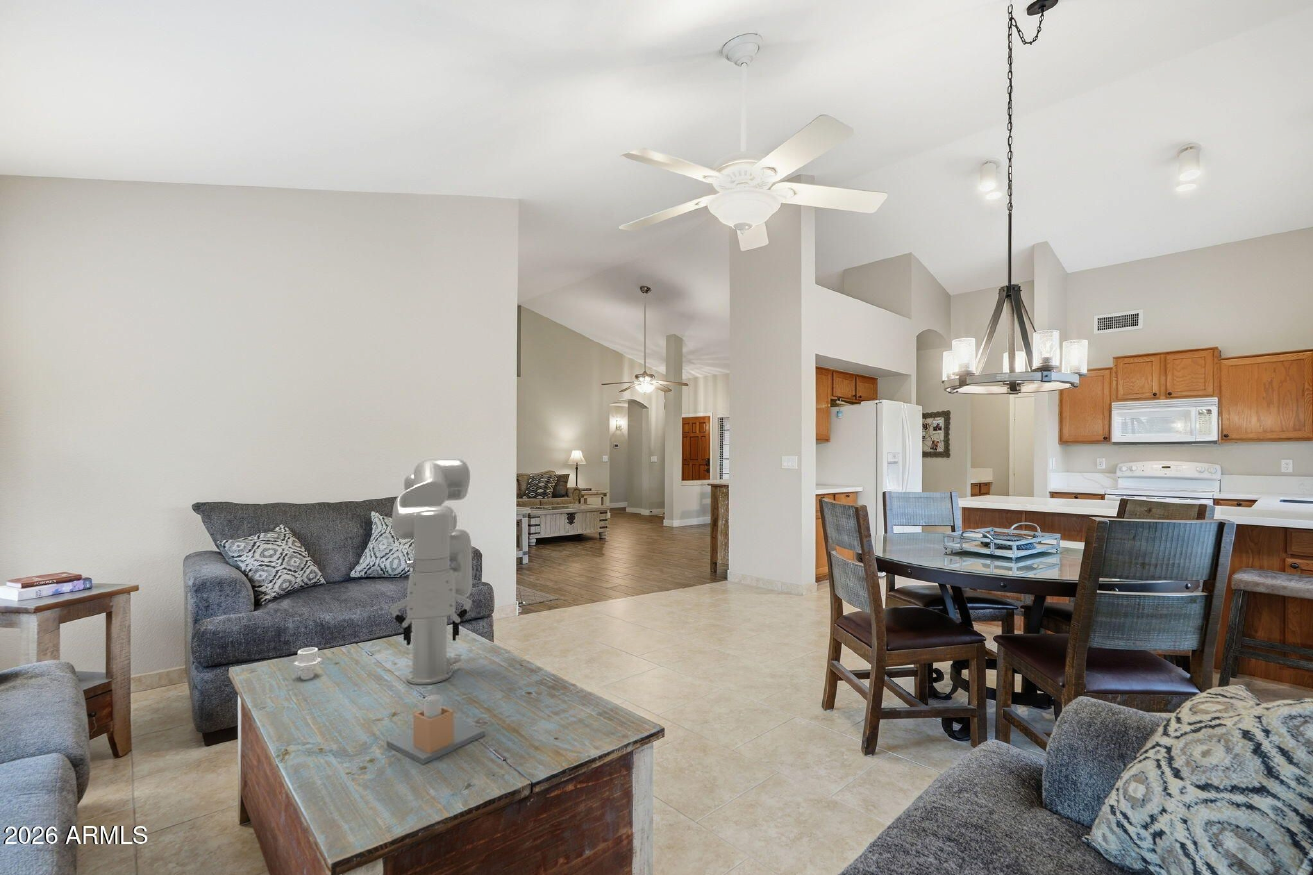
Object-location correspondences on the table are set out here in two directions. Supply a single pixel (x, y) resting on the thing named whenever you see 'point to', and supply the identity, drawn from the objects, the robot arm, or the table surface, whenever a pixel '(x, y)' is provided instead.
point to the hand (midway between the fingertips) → (431, 641)
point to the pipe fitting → (307, 662)
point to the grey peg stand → (461, 737)
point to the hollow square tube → (433, 730)
